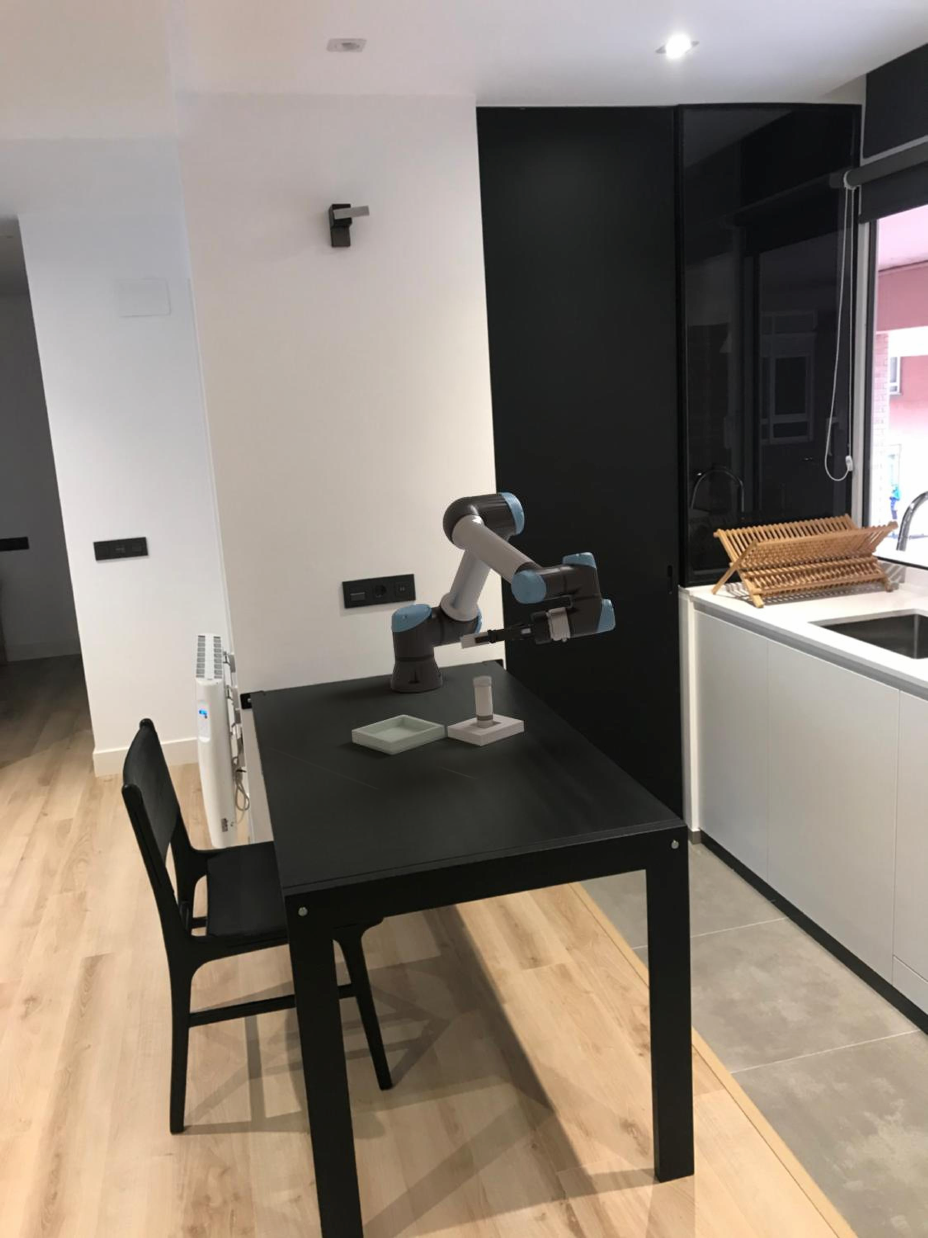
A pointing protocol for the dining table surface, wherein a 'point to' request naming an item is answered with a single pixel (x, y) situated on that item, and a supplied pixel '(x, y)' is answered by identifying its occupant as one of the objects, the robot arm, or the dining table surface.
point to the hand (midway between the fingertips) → (462, 642)
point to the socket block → (485, 730)
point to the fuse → (483, 701)
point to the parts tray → (398, 734)
